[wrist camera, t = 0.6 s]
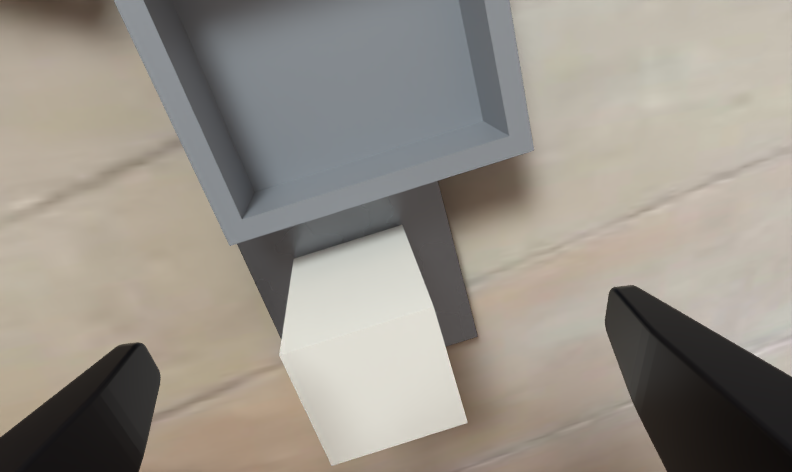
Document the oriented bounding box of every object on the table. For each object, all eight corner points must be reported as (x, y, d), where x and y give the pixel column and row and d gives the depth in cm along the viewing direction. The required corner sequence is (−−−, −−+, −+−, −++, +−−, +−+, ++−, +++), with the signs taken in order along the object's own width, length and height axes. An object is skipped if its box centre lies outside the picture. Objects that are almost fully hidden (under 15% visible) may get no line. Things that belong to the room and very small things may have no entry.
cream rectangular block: (429, 316, 24) (467, 422, 17) (330, 347, 23) (331, 466, 17) (402, 224, 21) (433, 306, 15) (293, 258, 21) (279, 355, 15)
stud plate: (472, 325, 25) (503, 388, 21) (306, 377, 25) (301, 452, 21) (430, 163, 22) (456, 197, 17) (235, 224, 22) (211, 274, 17)
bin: (499, 130, 21) (533, 150, 18) (246, 209, 21) (229, 245, 18) (443, -160, 17) (474, -212, 13) (126, -63, 17) (72, -88, 13)
